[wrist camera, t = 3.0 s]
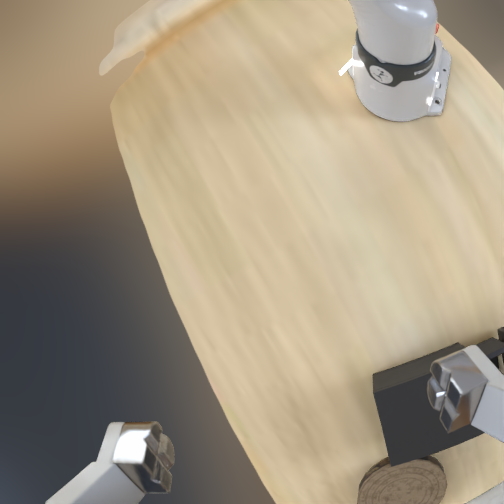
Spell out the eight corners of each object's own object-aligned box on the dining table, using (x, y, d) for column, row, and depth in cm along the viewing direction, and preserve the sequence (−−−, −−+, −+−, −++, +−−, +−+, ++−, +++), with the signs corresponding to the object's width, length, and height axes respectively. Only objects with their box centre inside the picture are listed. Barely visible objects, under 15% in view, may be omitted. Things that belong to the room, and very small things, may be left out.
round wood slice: (444, 441, 39) (447, 449, 36) (443, 505, 37) (445, 514, 34) (354, 461, 44) (352, 470, 41) (361, 522, 42) (360, 531, 39)
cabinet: (458, 342, 41) (475, 354, 33) (470, 410, 39) (486, 432, 30) (372, 374, 45) (373, 392, 37) (389, 439, 43) (390, 467, 34)
